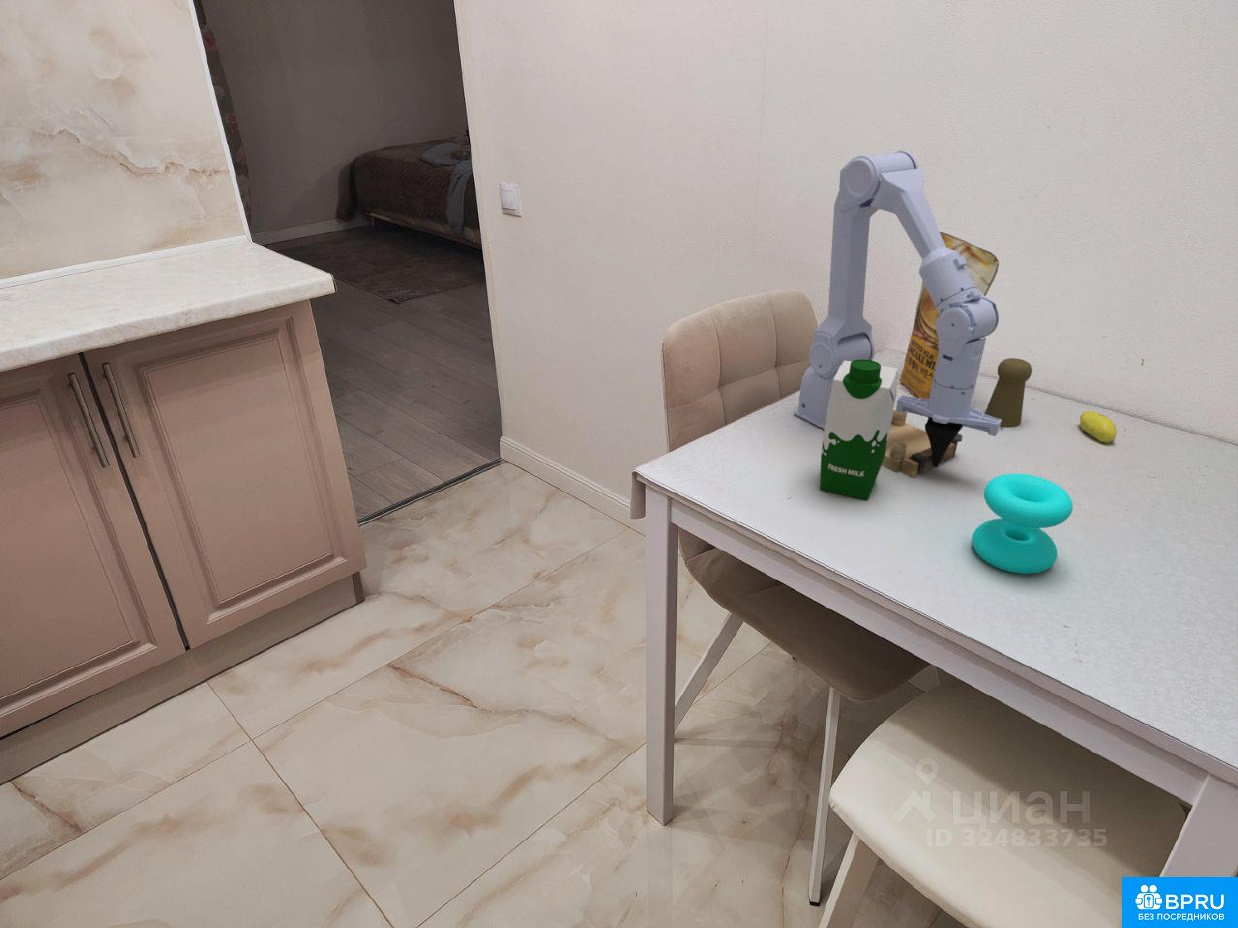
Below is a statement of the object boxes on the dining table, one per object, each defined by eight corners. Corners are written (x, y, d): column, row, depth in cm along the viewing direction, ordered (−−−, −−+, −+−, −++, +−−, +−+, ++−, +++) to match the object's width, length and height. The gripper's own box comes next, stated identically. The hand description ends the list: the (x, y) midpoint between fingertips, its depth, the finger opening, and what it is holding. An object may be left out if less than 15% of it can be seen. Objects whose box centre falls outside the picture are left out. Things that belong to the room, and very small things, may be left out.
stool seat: (846, 446, 129) (849, 425, 127) (898, 427, 135) (902, 407, 133) (908, 478, 120) (913, 456, 118) (961, 456, 126) (966, 435, 124)
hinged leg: (943, 453, 126) (946, 439, 125) (952, 457, 125) (956, 443, 123) (909, 468, 122) (912, 454, 120) (919, 473, 120) (922, 459, 119)
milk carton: (812, 492, 116) (829, 365, 107) (825, 464, 123) (842, 344, 114) (873, 505, 113) (896, 376, 103) (883, 476, 120) (906, 353, 110)
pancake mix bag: (921, 372, 156) (950, 228, 143) (968, 412, 140) (1006, 254, 126) (889, 373, 156) (914, 229, 142) (932, 414, 139) (966, 256, 126)
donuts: (1072, 519, 92) (981, 496, 96) (1049, 587, 96) (963, 563, 101) (1078, 481, 99) (993, 462, 103) (1056, 547, 104) (976, 525, 108)
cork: (1024, 429, 134) (1041, 369, 129) (987, 426, 135) (1002, 366, 130) (1016, 414, 139) (1032, 355, 134) (980, 411, 140) (994, 353, 135)
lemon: (1094, 446, 129) (1101, 425, 127) (1070, 424, 136) (1077, 404, 134) (1120, 446, 129) (1127, 425, 127) (1095, 425, 136) (1101, 404, 134)
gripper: (895, 378, 115) (880, 460, 122) (999, 403, 107) (978, 488, 114) (911, 364, 120) (897, 443, 126) (1012, 386, 112) (991, 469, 119)
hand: (936, 463), depth 120 cm, fingers closed
